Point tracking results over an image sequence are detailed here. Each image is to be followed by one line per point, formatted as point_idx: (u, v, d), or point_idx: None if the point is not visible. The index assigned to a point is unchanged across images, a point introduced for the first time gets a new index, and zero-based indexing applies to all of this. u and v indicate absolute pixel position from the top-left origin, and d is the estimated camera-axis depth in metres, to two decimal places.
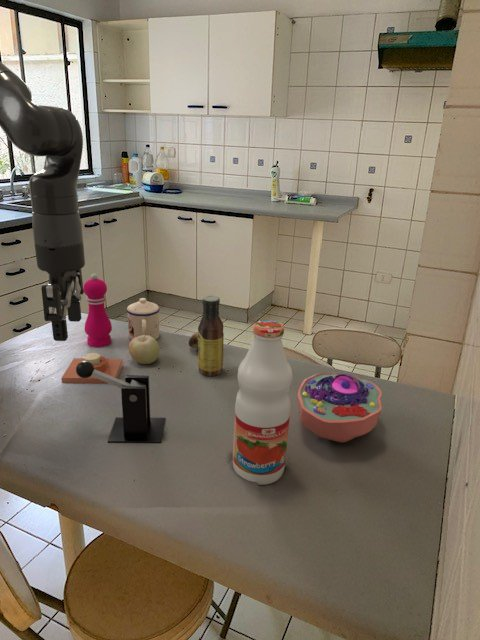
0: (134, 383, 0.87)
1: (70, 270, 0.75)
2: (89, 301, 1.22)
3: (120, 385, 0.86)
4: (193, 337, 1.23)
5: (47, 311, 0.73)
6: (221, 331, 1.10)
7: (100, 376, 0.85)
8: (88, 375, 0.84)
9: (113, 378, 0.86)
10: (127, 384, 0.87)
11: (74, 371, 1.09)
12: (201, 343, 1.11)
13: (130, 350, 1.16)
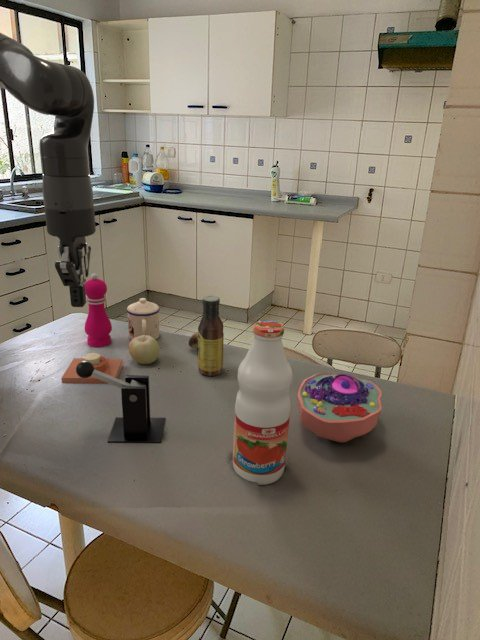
0: (134, 383, 0.87)
1: (81, 235, 0.73)
2: (89, 301, 1.22)
3: (120, 385, 0.86)
4: (193, 337, 1.23)
5: (65, 279, 0.75)
6: (221, 331, 1.10)
7: (100, 376, 0.85)
8: (88, 375, 0.84)
9: (113, 378, 0.86)
10: (127, 384, 0.87)
11: (74, 371, 1.09)
12: (201, 343, 1.11)
13: (130, 350, 1.16)
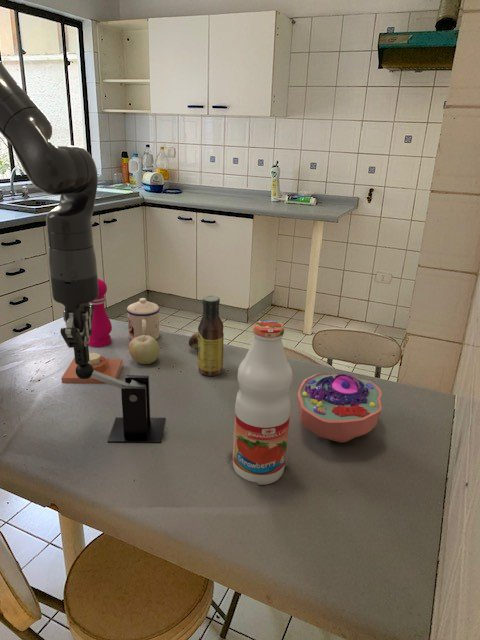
0: (134, 383, 0.87)
1: (85, 302, 0.77)
2: None
3: (120, 385, 0.86)
4: (193, 337, 1.23)
5: (70, 342, 0.79)
6: (221, 331, 1.10)
7: (100, 377, 0.85)
8: (88, 376, 0.85)
9: (113, 379, 0.86)
10: (127, 384, 0.87)
11: (74, 371, 1.09)
12: (201, 343, 1.11)
13: (130, 350, 1.16)
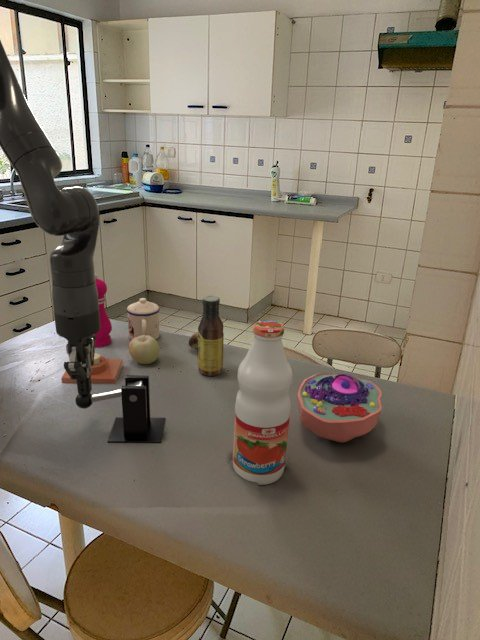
0: (130, 385, 0.87)
1: (87, 336, 0.80)
2: None
3: (119, 394, 0.87)
4: (193, 337, 1.23)
5: (72, 374, 0.82)
6: (221, 331, 1.10)
7: (98, 397, 0.87)
8: (88, 403, 0.87)
9: (111, 392, 0.87)
10: None
11: None
12: (201, 343, 1.11)
13: (130, 350, 1.16)
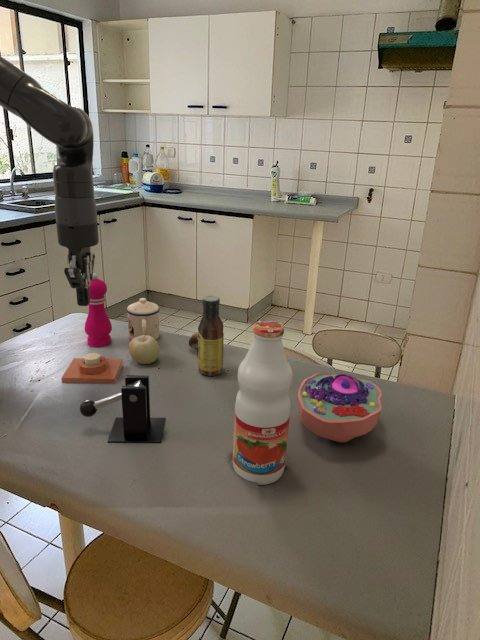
0: None
1: (86, 246, 0.88)
2: None
3: (121, 397, 0.87)
4: (193, 337, 1.23)
5: (72, 283, 0.90)
6: (221, 331, 1.10)
7: (101, 403, 0.88)
8: (92, 410, 0.87)
9: (112, 396, 0.88)
10: None
11: (74, 371, 1.09)
12: (201, 343, 1.11)
13: (130, 350, 1.16)
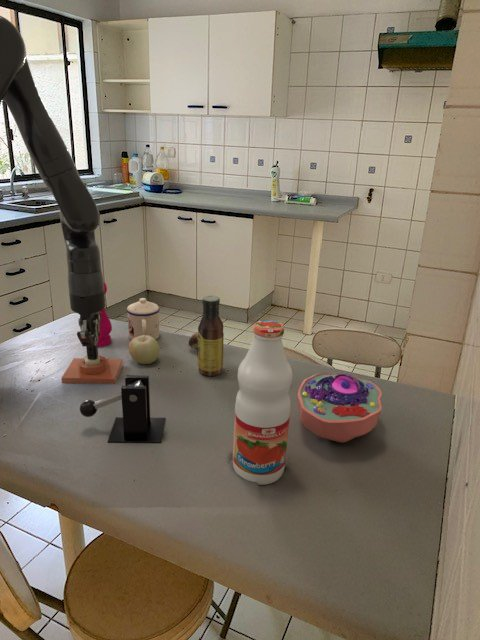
0: None
1: (95, 312, 1.02)
2: None
3: (121, 397, 0.87)
4: (193, 337, 1.23)
5: (83, 342, 1.04)
6: (221, 331, 1.10)
7: (101, 403, 0.88)
8: (92, 410, 0.87)
9: (112, 396, 0.88)
10: None
11: (74, 371, 1.09)
12: (201, 343, 1.11)
13: (130, 350, 1.16)
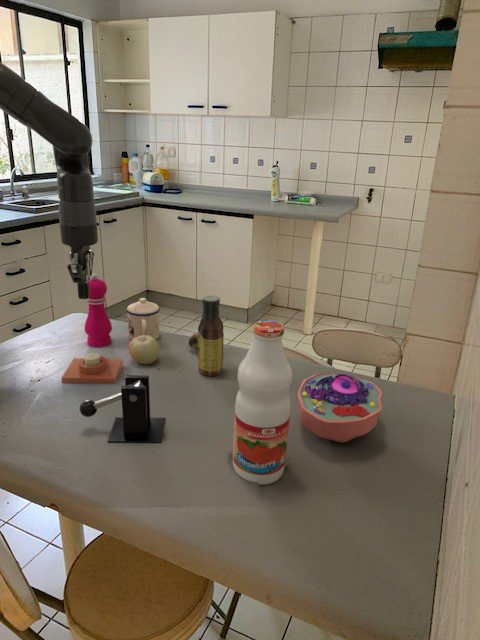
0: None
1: (87, 244, 0.98)
2: (89, 301, 1.22)
3: (121, 397, 0.87)
4: (193, 337, 1.23)
5: (74, 278, 1.00)
6: (221, 331, 1.10)
7: (101, 403, 0.88)
8: (92, 410, 0.87)
9: (112, 396, 0.88)
10: None
11: (74, 371, 1.09)
12: (201, 343, 1.11)
13: (130, 350, 1.16)
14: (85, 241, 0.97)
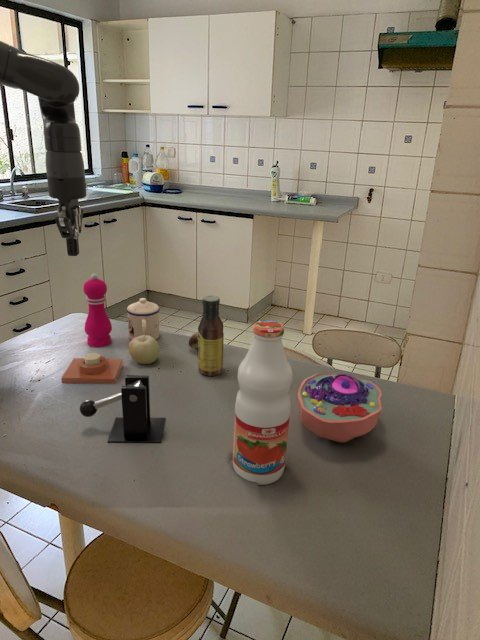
0: None
1: (75, 197, 0.96)
2: (89, 301, 1.22)
3: (121, 397, 0.87)
4: (193, 337, 1.23)
5: (62, 232, 0.98)
6: (221, 331, 1.10)
7: (101, 403, 0.88)
8: (92, 410, 0.87)
9: (112, 396, 0.88)
10: None
11: (74, 371, 1.09)
12: (201, 343, 1.11)
13: (130, 350, 1.16)
14: (73, 194, 0.95)
